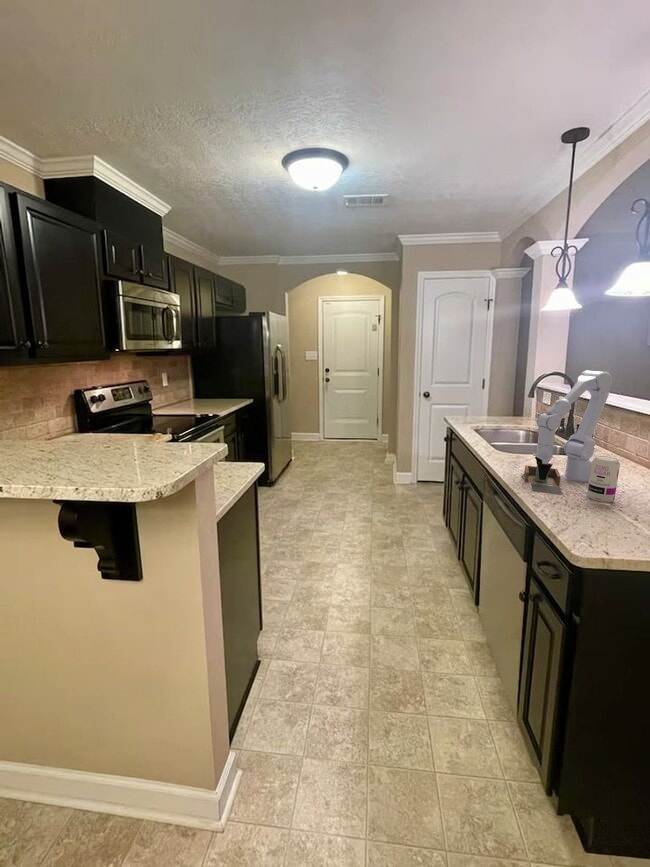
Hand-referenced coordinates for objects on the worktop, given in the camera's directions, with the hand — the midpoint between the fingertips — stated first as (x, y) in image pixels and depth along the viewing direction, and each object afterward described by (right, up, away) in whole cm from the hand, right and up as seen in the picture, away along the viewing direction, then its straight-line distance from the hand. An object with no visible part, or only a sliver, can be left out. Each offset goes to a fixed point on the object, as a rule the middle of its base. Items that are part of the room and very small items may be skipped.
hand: (541, 477), depth 172 cm
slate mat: (-4, -4, -11) cm, 12 cm away
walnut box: (0, -1, +1) cm, 2 cm away
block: (0, -1, 0) cm, 1 cm away
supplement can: (+11, -6, -20) cm, 23 cm away
